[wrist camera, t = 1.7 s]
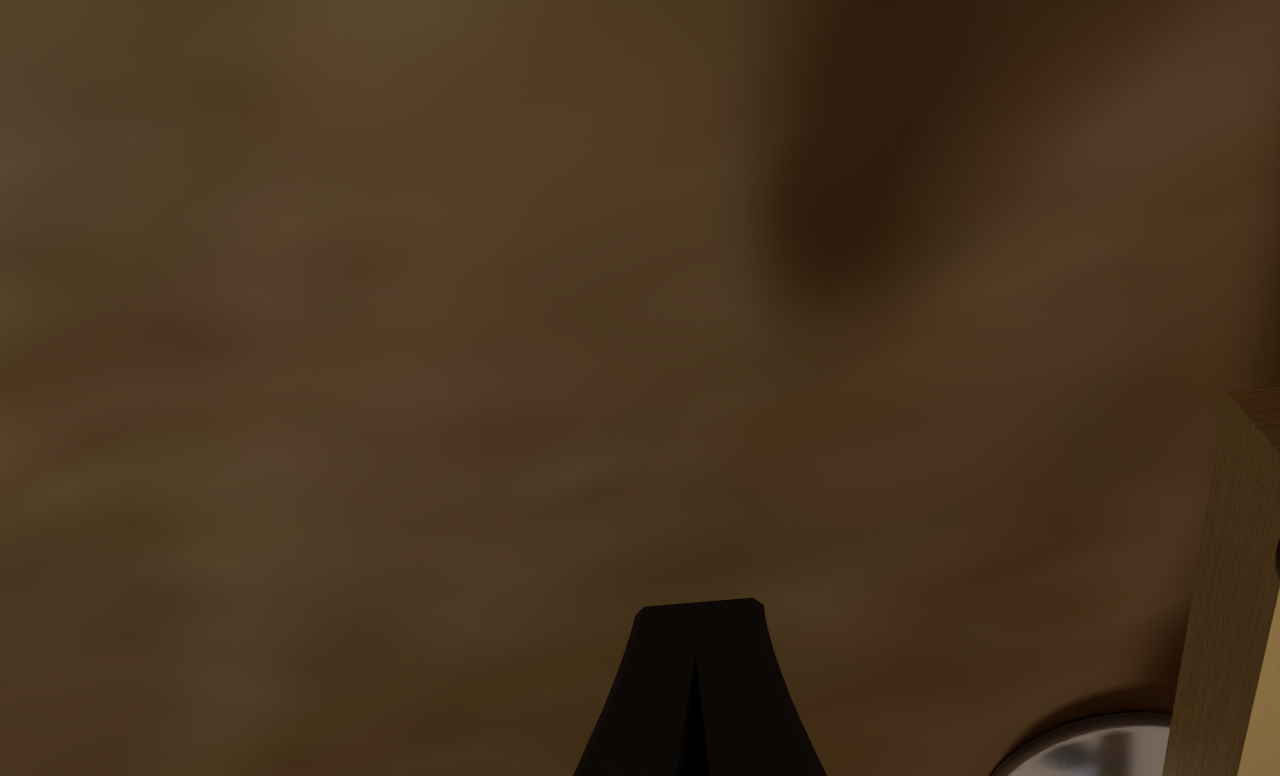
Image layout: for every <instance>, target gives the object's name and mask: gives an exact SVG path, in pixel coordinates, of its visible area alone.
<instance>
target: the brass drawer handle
mask: <svg viewBox="0 0 1280 776" xmlns="http://www.w3.org/2000/svg"><path fill="white" fill-rule="evenodd" d="M1162 776H1280V386H1279V387H1270V388H1260V389H1250V390H1240V391H1230V392H1227V393H1226V399H1225V405H1224V411H1223V417H1222V423H1221V429H1220V435H1219V441H1218V447H1217V452H1216V458H1215V464H1214V470H1213V476H1212V482H1211V488H1210V494H1209V500H1208V506H1207V512H1206V518H1205V524H1204V529H1203V535H1202V541H1201V547H1200V553H1199V559H1198V565H1197V571H1196V577H1195V583H1194V589H1193V595H1192V601H1191V606H1190V612H1189V618H1188V624H1187V630H1186V636H1185V642H1184V648H1183V654H1182V660H1181V666H1180V672H1179V678H1178V683H1177V689H1176V695H1175V701H1174V707H1173V713H1172V719H1171V725H1170V731H1169V737H1168V743H1167V749H1166V755H1165V760H1164V766H1163V772H1162Z"/></svg>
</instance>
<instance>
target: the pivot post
mask: <svg viewBox="0 0 1280 776" xmlns="http://www.w3.org/2000/svg"><path fill="white" fill-rule="evenodd" d="M1171 719H1172V715H1171V714H1165V713H1152V712H1126V713H1116V714H1107V715H1102V716H1097V717H1092V718H1087V719H1083V720H1080V721H1076V722H1073V723H1069V724H1066V725H1064V726H1061V727H1059V728H1056V729H1053V730H1051V731H1049V732H1047V733H1045V734H1043V735H1041V736H1038V737H1036V738H1035V739H1033V740H1031V741H1030V742H1028V743H1026V744H1025V745H1023V746H1022V747H1020V748H1019V749H1018V750H1016V751H1015V752H1014V753H1012V754H1011V755H1010V756H1008V757H1007V758H1006V759H1005V760H1004V761H1003V762H1002V763H1001V764H1000V765H999V766H998V767H997V769H996V770H995V771H994V773H993V774H992V775H991V776H1162V772H1163V766H1164V760H1165V755H1166V749H1167V743H1168V737H1169V731H1170V725H1171Z"/></svg>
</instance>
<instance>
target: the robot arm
mask: <svg viewBox="0 0 1280 776" xmlns="http://www.w3.org/2000/svg"><path fill="white" fill-rule="evenodd" d="M573 776H827V774H826V773H825V771H824V769H823V767H822V765H821V763H820V760H819V758H818V756H817V754H816V752H815V750H814V748H813V746H812V743H811V741H810V739H809V737H808V735H807V733H806V731H805V729H804V726H803V724H802V722H801V720H800V718H799V716H798V713H797V711H796V709H795V706H794V704H793V702H792V699H791V697H790V694H789V692H788V689H787V686H786V684H785V681H784V678H783V676H782V673H781V671H780V668H779V665H778V662H777V659H776V656H775V653H774V650H773V646H772V643H771V639H770V636H769V632H768V627H767V623H766V618H765V610H764V605H763V604H761V603H760V602H759V601H757V600H756V599H754V598H744V599H732V600H720V601H708V602H696V603H684V604H673V605H661V606H649V607H643V608H642V609H641V610H640V611H639V612H638V613H637V614H636V616H635V619H634V623H633V627H632V630H631V634H630V637H629V640H628V643H627V646H626V649H625V653H624V655H623V658H622V661H621V664H620V667H619V669H618V672H617V675H616V678H615V680H614V683H613V685H612V688H611V690H610V693H609V695H608V698H607V700H606V703H605V705H604V708H603V710H602V713H601V715H600V717H599V719H598V722H597V724H596V726H595V728H594V730H593V733H592V735H591V737H590V739H589V742H588V744H587V746H586V748H585V751H584V753H583V755H582V757H581V760H580V762H579V764H578V766H577V768H576V770H575V772H574V775H573Z"/></svg>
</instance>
